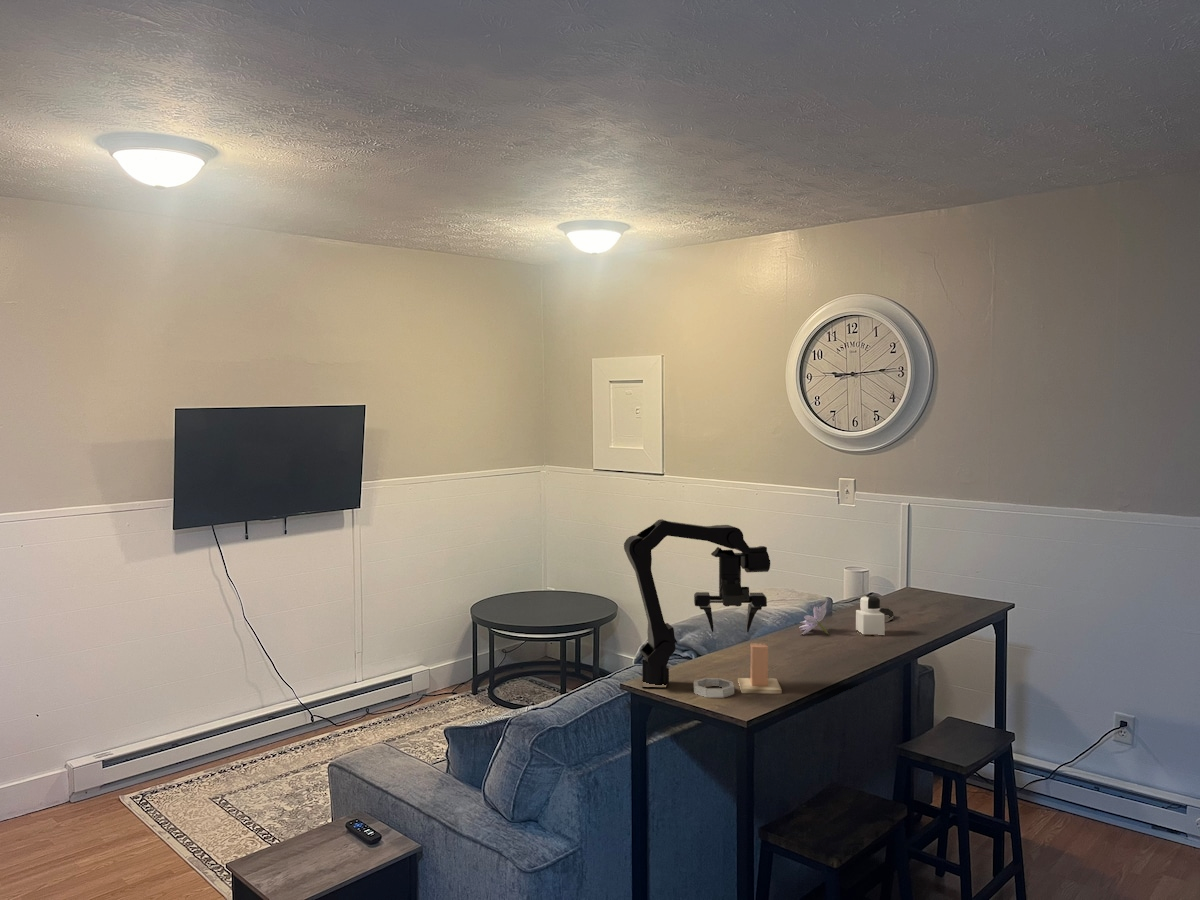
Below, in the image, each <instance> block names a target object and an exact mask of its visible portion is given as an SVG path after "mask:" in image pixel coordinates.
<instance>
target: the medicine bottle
mask: <svg viewBox="0 0 1200 900" xmlns="http://www.w3.org/2000/svg"><path fill="white" fill-rule="evenodd" d="M859 601H860V602H859V604H860V609H856V610H855V631H856V630H858V631H859V632H861V633H862V634H878V635H884V636H885V634H886V633H885V630H886V629H885V626H886V623H885V615H884V614H883V613H881V612H880V611H879V610H880V609H881V607H880V606H881V600H880V598H879V597H877V596H872V595H865V596H864V595H863V596H862V597H860V600H859Z"/></svg>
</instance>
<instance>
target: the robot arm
mask: <svg viewBox="0 0 1200 900" xmlns="http://www.w3.org/2000/svg"><path fill="white" fill-rule="evenodd" d="M667 536H668V537H675V538H682V539H689V540H697V541H698V540H699V541H703V542H704V541H707V542H709V543H713V544H714V545H715V544H716V545H718V546H717V547H716V548H715V549H714V551H712V552H711V553H710V555H711V556H712V557H714V558H718V595H710V592H706V591H705V592H704V591H703V592H702V591H697V592H695V593H694V595H693V603H694V607H698V608H699V609H700V610H703V611H704V613H705V614H706V618H707V621H708V624H709V627H710V630H711V631H710V632H711V633H714V621H713V620H714V619H713V613H712V606H711V604H712V603H713V604H722V605H723V606H724V607H730V606H732V607H734V606H735V607H741V606H742V604H748V605H747V613H746V614H747V615H746V625H745V626H746V628H745V629H746V633H749V631H750V628H751V625H752V622H753V620H754V617H755V615H756V614H757V612H758V611H760V610H762V608H765V607H767V606H768V599H767V596H766V595H765V594H764V592H750V587H749V586H742V569H743V570H744V572H746V573H747V574H748V573H768V572H769V570H770V568H771V559H770V555H769V553H768V548H767V546H763V545H759V546H749V544H748V543H747V542H746V541H745V539H744V533H743V531H742V530H741V529H740V528H739V527H736V526H733V525H730V524H717V525H708V526H707V525H699V524H692V523H686V522H685V523H684V522H677V521H669V520H665V519H662V518H661V519H658V520H656V521H655V522H654V523H653V524H651V525H650V526H648V527H646V528H644V529H643V530H641V531H640V532H639V533H637V534H636V535H630V536H629V537H627V538H626V539H625V542H624V543H623V549H624V552H625V554H626V556H627V558H628V561H629V563H630V565H631V566H632V568H633V570H634V572H635V576H636V577H635V578H636V580H637V585H638V588H639V591H640V592H639V593H640V595H641V600H642V603H643V606H644V607H643V608H644V611H645V616H646V619H647V642H646V644H644V645H643V647H642V648H641V649H640V650H639V653H640V656H641V658H642V661H641V662H642V663H641V665H642V669H641V670H642V671H641V673H642V680H641V682H642V681H643V682H646V683H649V684H655V685H662V684H664V685H666V684H667V685H669V683H670V666H669V665H668V663H669V660H670V657H672V656H673V655H674V653H675V651H676V649H677V646H676V644H678V641H677V639H676V637H675V628H674V627H673V626H672V625H671V624H670V623H668V622H665V620H664V616H663V612H662V607H661V604H660V600H659V596H658V592H657V588H656V584H655V580H654V577H653V572H652V564H653V563H652V556H653V555H652V550H654V549H655V548H656V547H658V546H659V545H660V543H661V542H662V541H663V540H664V539H665V538H667ZM719 546H721V547H725V548H728V549H722V548H721V547H719ZM734 550H737V551H739V552H734Z"/></svg>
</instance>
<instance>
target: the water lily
mask: <svg viewBox="0 0 1200 900" xmlns="http://www.w3.org/2000/svg"><path fill="white" fill-rule="evenodd" d="M827 603H828V600H826V601H825V603H823V604H822V606H816V605H814V606H813V610H812V611H813V615H804V616H803V618H804V620H803V621H799V623H800V624H803V625H800V626H799V627H798V628H799V629H800V631H803V632H802V633H801V634H803V635H805V634H807V633H808V632H810V631H812V630H813V629H814V628H816V627H817V626H820V628H821V629H822V630H823V632H824V633H825V634H826V633H828V634H829V632H828V631H827V630H826V629H825V627H824V626H823V625H822V624H821V623H820V622H822V620H823V619H824V617H825V616H826V614H827V605H828V604H827Z"/></svg>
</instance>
